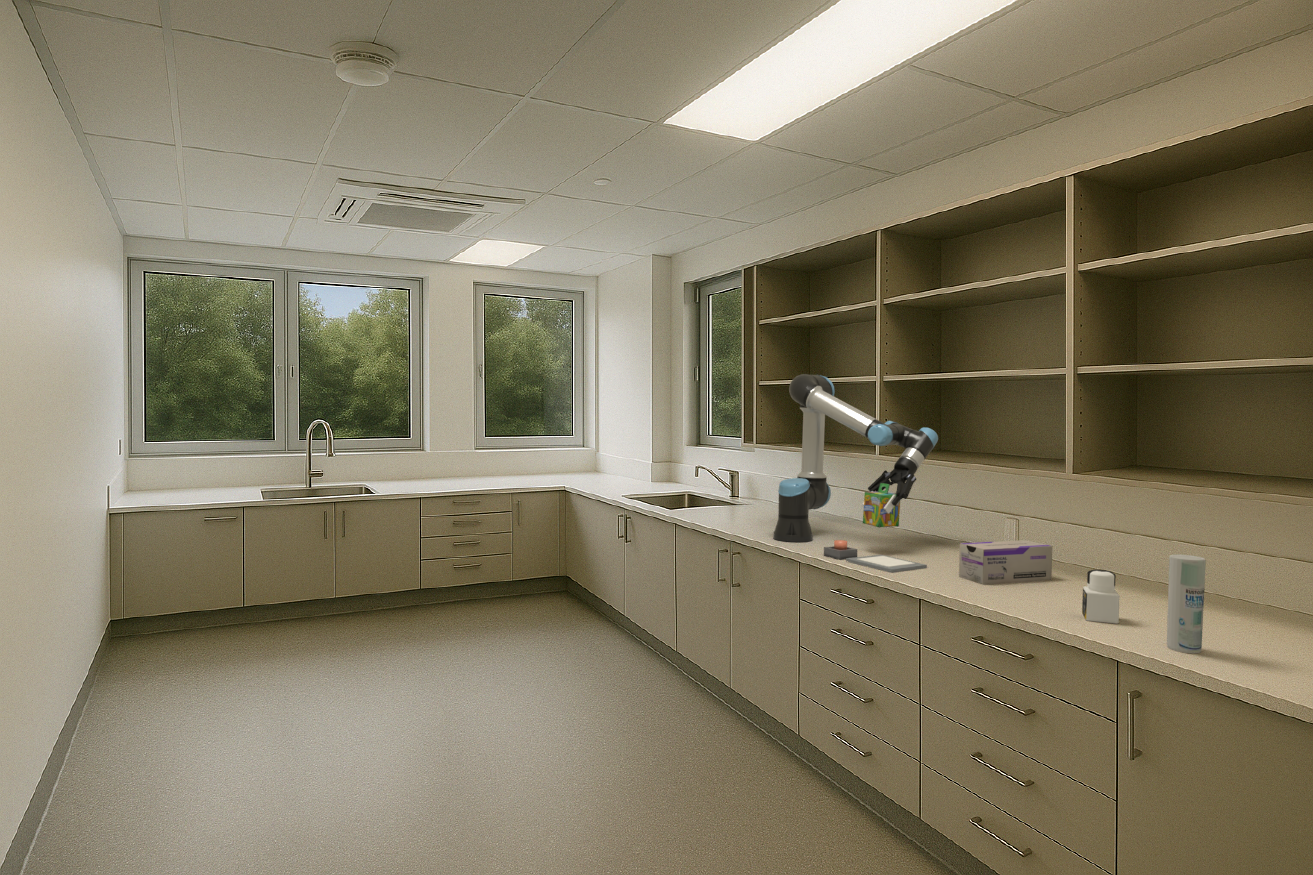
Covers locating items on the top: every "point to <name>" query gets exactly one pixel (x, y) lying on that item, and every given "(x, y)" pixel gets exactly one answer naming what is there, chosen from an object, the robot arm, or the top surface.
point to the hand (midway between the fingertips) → (875, 508)
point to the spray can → (1185, 603)
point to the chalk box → (880, 508)
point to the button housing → (840, 553)
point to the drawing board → (886, 563)
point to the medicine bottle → (1100, 597)
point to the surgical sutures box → (1005, 562)
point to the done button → (840, 544)
